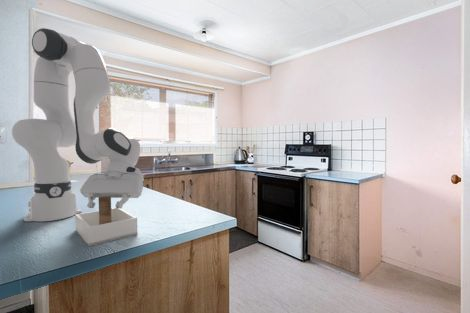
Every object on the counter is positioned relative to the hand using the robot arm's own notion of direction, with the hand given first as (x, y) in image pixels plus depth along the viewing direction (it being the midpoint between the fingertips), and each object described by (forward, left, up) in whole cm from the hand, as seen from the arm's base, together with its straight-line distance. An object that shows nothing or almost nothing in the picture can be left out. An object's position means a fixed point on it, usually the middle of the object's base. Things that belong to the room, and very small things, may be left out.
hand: (104, 207), depth 81 cm
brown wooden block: (0, 0, -8) cm, 8 cm away
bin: (0, 0, -9) cm, 9 cm away
